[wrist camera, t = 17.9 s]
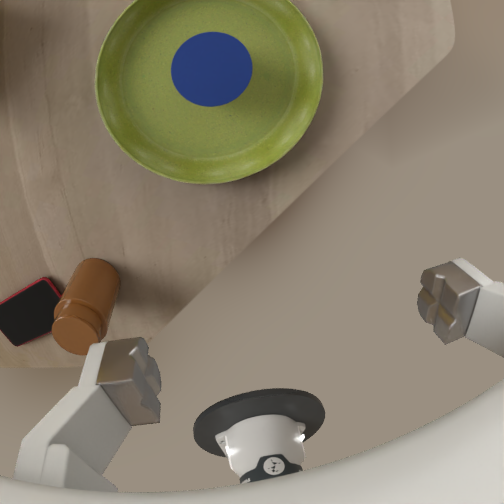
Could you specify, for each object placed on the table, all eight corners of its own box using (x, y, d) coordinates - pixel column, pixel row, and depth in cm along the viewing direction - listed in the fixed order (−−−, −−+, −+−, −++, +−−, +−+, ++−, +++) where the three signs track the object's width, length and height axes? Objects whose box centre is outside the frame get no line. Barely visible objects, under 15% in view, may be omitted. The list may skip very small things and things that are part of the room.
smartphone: (-15, 312, 33) (45, 276, 32) (-12, 308, 34) (47, 272, 33) (15, 347, 36) (78, 320, 36) (17, 344, 37) (80, 316, 37)
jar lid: (165, 47, 22) (161, 43, 20) (238, 29, 22) (242, 23, 20) (183, 114, 25) (182, 116, 23) (255, 95, 25) (260, 95, 23)
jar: (128, 293, 36) (114, 353, 28) (88, 304, 36) (68, 362, 27) (107, 251, 33) (83, 306, 25) (66, 265, 33) (36, 319, 24)
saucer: (142, 202, 32) (137, 213, 29) (83, 23, 21) (72, 17, 19) (330, 146, 32) (342, 152, 29) (284, -32, 22) (293, -42, 19)
